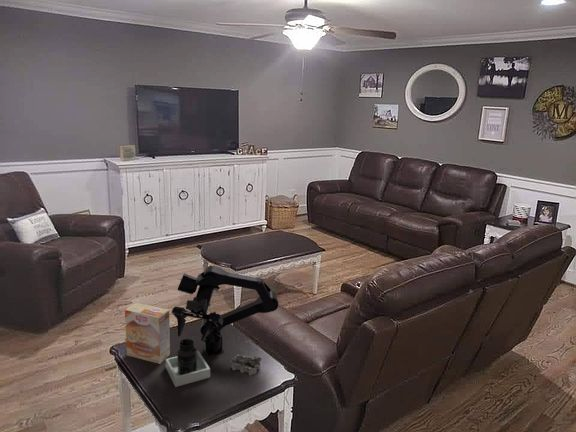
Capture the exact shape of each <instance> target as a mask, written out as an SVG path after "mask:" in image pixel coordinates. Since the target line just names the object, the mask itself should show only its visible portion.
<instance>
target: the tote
mask: <svg viewBox="0 0 576 432" xmlns="http://www.w3.org/2000/svg"><path fill="white" fill-rule="evenodd" d="M165 369H166V371H167V372H168V375H169V377H170V379H171V381H172V383H173V385H174V386H175V388H177V387H180V386H184V385H188V384H190V383H195V382H199V381H202V380H205V379H208V378H211V368H210V366H209V365H208V363H207V361H206V360H205V359H204V356H202V354H201V352H200V351H199V350H197V371H195V372H191V373H187V374H184V375H180V374H179V373H178V365H177V356H173V357H172V356H171V357H167V358H166V359H165Z"/></svg>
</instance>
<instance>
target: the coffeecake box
mask: <svg viewBox="0 0 576 432" xmlns="http://www.w3.org/2000/svg"><path fill="white" fill-rule="evenodd" d="M124 315H125V316H124V320H125V338H126V339H125V343H126V356H127V357H131V358H135V359H139V360H143V361H147V362H150V363H155V364H159V365H161V364H162V363H163V362H164V361H166V359H168V358H169V356H170V354H171V342H170V341H171V340H170V339H171V338H170V337H171V336H170V333H171V332H170V331H171V330H170V327H171V326H170V309H166V308H162V307H159V306H158V307H157V306H155V305H154V306H153V305H149V304H145V303H140V302H134V304H133V303H132V305H130V306H128V307H126V309H124Z"/></svg>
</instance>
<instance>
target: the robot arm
mask: <svg viewBox="0 0 576 432" xmlns="http://www.w3.org/2000/svg"><path fill="white" fill-rule="evenodd" d="M181 277H182V278H181V279H180V282H179V284H178V286H177V291H179V292H182V293H185V294H188V295H194V294H195V293H196V296H194V297H193V298H192V299H191V300H190V299H189V300H186V305H185V308H184V307H181V306H174V307H173V308H172V310H171V314H172V315H173V317H175V319H176V321H177V337H180V338H181V335H182V333H183V330H184V328H185V324H186V322H187V319H186V318H187V317H189V318H194V319H200V320H202V321H201V324H200V325H201V326H200V333H201V340H200V341H201V342H203V347H202V349H203V351H204V353H206V354H207V356H209V357H210V356H214V355H218V354H221V353H224V350H225V349H223V335H222V330H223V329H224V328H225V327H226V326H227V327H228V326H229V325H231V324H234V323H237V322H239V321H242V320H244V319H247V318H249V317H251V316H254V315H256V314H267V313H268V314H269V313H271V312H275V311H277V309H278V307H279V299H278V298H279V297H278V294H277V293H276V292H275V291H273V290H272V289H271V288H270V286H269V285H268V283H266V282H265V280H264V279H263V277H253V276H250V275H243V274H240V273H234V272H228V271H227V270H224V268H221V267H218V266H216V265H209V266H206V268H205V269H204V271H202V272H201V273H199V274H198V275H197V277H195V276H192V275H190V274H188V273H183V274H182V276H181ZM223 285H227V286H232V287H238V288H244V289H248V290H249V289H250V290H254V291H256V292H257V294H258V297H257V298H256V299H255V300H254V301H252V302H249V303H247V304H244V305H242V306H239V307H237V308H235V309H232V310H229V311H228V312H225V313H223V314H220V313H217V311H213V312H209V314H208V310H209V307H211V299H212V297H213V294H214V291H215V292H219V291H220V286H223ZM197 288H198V289H197Z"/></svg>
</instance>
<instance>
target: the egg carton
mask: <svg viewBox="0 0 576 432" xmlns="http://www.w3.org/2000/svg"><path fill="white" fill-rule="evenodd" d="M261 361H262V357H260V356H254V357H253V356H249V355H240V354H238V353H237V354H236V355H234V357H232V358H231V359H230V360H229V362H230V368H231V369H232V370H231V371H236V370H239V372H240V373H242V374H243V373H248V375H250V376H252V375H256V374H257V370H260V369H261ZM246 364H250V366H247V365H246ZM252 366H254V367H252Z"/></svg>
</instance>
